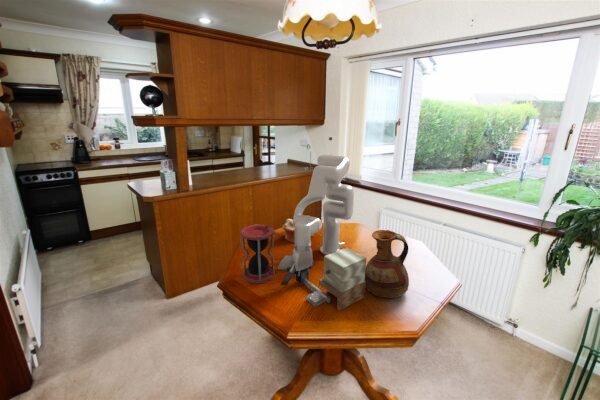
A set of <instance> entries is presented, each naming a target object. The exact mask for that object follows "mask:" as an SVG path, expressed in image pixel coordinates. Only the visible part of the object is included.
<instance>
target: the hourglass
mask: <svg viewBox="0 0 600 400" xmlns="http://www.w3.org/2000/svg"><path fill="white" fill-rule="evenodd" d="M274 233H275V230H274V228H273V227H272V226H270V225H269V224H268V225H267V224H263V223H258V224H250V225H247V226H245V227H243V228H242V229H241V231H240V236H241V244H242V245H241V247H242V250H243V251H244V252H245V257H243V262H242V264H243V266H242V267H243V273H242V274H243V278H244V280H245V281H246V282H249V283H252V284H262V283H266V282H269V281H270V280H272V279H273V278H274V277H275V272H276V271H275V264H274V263H275V259H274V256H273V255H272V252H271V250H272V249H273V247H274V235H275V234H274ZM269 238H270V247H269V248H268V250H267V254H268V256H269V257H270V259H271V265H270V262H269V259H268V258H267V256H265V255H264V253H262V252H263V251H264V250H265V249H266V247H268V245H269ZM245 240H246V243H247V246H248V248H250V250H252V252H254V253H255V254H254V255H252V257H251V258H250V259H249V261H248V267H247V266H246V263H247V262H246V260H247V259H248V258H249V255H250V253H249V250H248V249H246V246H245V245H246V244H245Z"/></svg>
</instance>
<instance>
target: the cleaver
mask: <svg viewBox="0 0 600 400" xmlns="http://www.w3.org/2000/svg"><path fill="white" fill-rule="evenodd" d="M291 260H292V255H284V256H283V258H282V259H281V261H280V262H279V265H278V270H279V271H280V270H281V271H287V273H285V275H284V278H283V279H282V280H281V285H288V284H289V283H291V280H292V279H293V277H294V276H295V274H293V273H291V272H290V270H291V268H292V267H291ZM294 271H295V270H294Z"/></svg>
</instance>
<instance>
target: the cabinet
mask: <svg viewBox="0 0 600 400" xmlns="http://www.w3.org/2000/svg"><path fill="white" fill-rule="evenodd" d="M323 257H324V258H323V276H322V278H319V279H318V285H319V286H321V287H322V288H323V289H325V290H326V291H327V292H329V293H330V294H331V295H333V296H334V297H336V298H337V301H336V302H337V303H336V309H337V310H338V311H341V310H343V309H345V308H347V307H349V306H351V305H352V304H354V303H356V302H358V301H360V300H362V299H364V298H365V297H366V289H367V288H366V282H365V270H366V265H367V257H366V256H364V255H363V254H360V253H358V252H356V251H354V250H352V249H350V248H348V247H345V248H342V249H341V250H340V251H337V252H334V253H331V254H329V255H324V256H323Z"/></svg>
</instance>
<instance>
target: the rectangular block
mask: <svg viewBox="0 0 600 400" xmlns="http://www.w3.org/2000/svg"><path fill="white" fill-rule="evenodd" d="M306 301H307V302H309V303H310V304H311V305H312V306H313V307H315V308H316V307H318V306H320V305H322V304H323V303H326V302H327V301H326V297H324V296H323V295H322V294H320V293H319V292H318V291H316V292H314V291H313V292H312V293H309V294H307V295H306Z"/></svg>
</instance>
